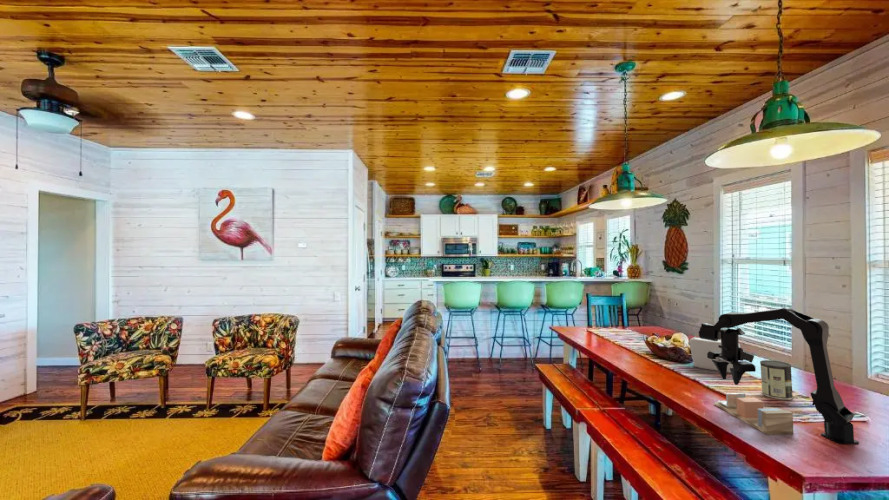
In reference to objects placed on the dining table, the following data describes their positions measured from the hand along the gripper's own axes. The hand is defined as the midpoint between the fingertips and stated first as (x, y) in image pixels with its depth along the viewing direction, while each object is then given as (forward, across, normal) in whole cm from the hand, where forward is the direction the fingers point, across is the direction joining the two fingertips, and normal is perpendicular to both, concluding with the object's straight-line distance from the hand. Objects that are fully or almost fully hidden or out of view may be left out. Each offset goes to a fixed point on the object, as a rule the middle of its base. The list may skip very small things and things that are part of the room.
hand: (730, 381), depth 151 cm
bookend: (+9, 0, -1) cm, 9 cm away
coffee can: (+11, +11, -29) cm, 33 cm away
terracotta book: (+10, -9, 0) cm, 13 cm away
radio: (+12, +49, -30) cm, 59 cm away
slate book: (+10, -19, 0) cm, 21 cm away
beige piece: (+11, -9, 0) cm, 14 cm away
